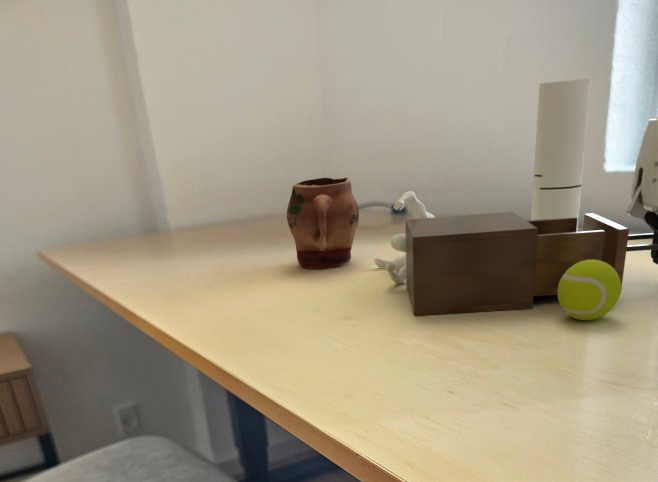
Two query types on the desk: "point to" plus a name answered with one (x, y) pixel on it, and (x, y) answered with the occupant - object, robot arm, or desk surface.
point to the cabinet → (470, 263)
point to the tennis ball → (589, 290)
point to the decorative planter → (323, 221)
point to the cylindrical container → (560, 149)
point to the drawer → (579, 248)
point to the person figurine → (402, 238)
